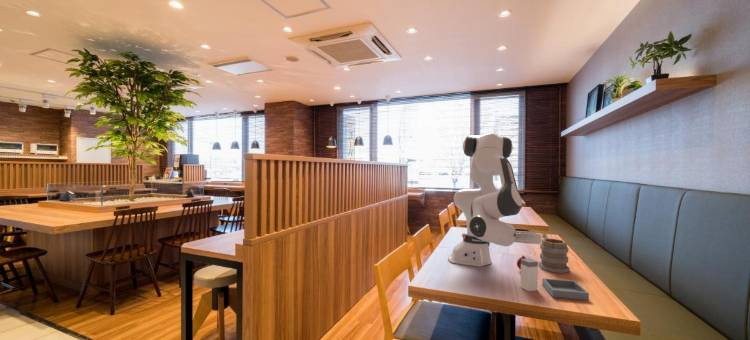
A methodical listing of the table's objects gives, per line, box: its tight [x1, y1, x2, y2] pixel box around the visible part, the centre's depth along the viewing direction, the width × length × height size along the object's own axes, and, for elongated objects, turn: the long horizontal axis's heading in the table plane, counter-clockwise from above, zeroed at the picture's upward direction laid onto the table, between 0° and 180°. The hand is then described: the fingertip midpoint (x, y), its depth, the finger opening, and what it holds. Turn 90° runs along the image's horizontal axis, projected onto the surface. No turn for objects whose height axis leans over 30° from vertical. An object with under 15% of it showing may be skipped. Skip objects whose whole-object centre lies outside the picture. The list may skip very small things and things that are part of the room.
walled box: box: [541, 277, 590, 302], centre depth 124 cm, size 13×13×3 cm
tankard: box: [538, 233, 571, 274], centre depth 156 cm, size 20×13×15 cm, turn 168°
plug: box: [520, 257, 539, 292], centre depth 128 cm, size 4×4×12 cm
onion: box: [516, 255, 528, 271], centre depth 148 cm, size 6×6×8 cm
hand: (523, 239), depth 123 cm, fingers open, 8 cm apart
